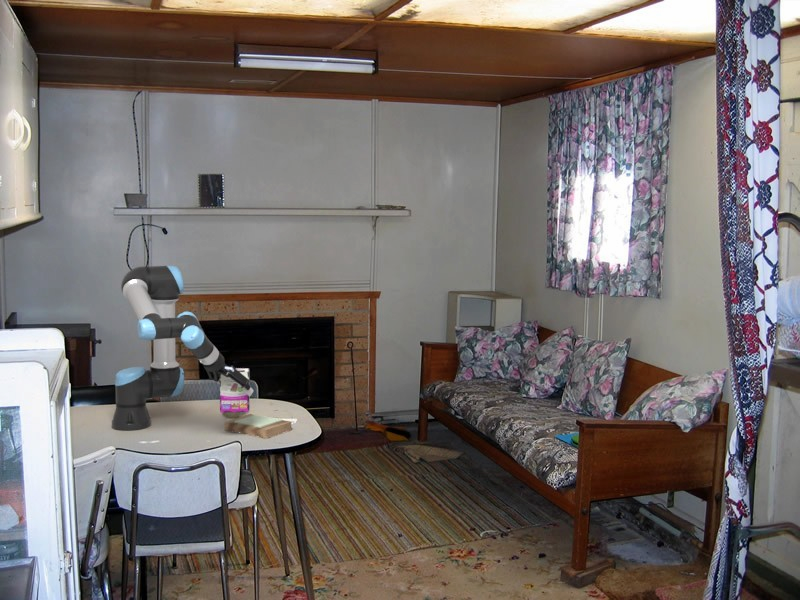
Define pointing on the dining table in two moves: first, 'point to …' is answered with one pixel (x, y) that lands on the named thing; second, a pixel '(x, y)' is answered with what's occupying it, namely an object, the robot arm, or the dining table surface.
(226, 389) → the candy bar box
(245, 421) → the mat
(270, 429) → the brown flat block
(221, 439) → the dining table surface
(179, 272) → the robot arm
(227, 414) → the flower pot
